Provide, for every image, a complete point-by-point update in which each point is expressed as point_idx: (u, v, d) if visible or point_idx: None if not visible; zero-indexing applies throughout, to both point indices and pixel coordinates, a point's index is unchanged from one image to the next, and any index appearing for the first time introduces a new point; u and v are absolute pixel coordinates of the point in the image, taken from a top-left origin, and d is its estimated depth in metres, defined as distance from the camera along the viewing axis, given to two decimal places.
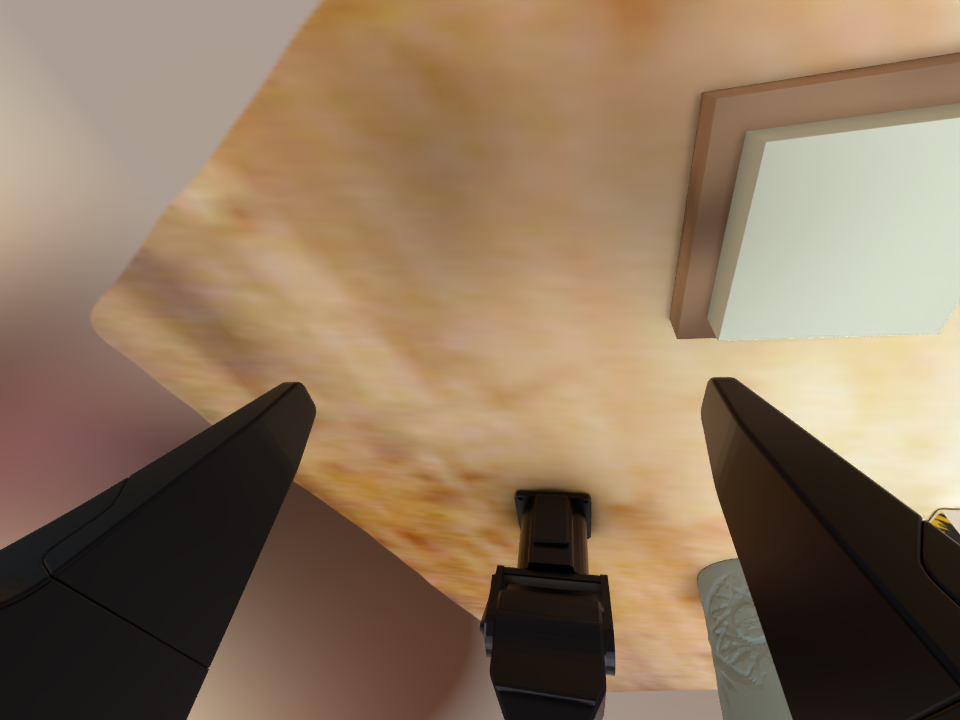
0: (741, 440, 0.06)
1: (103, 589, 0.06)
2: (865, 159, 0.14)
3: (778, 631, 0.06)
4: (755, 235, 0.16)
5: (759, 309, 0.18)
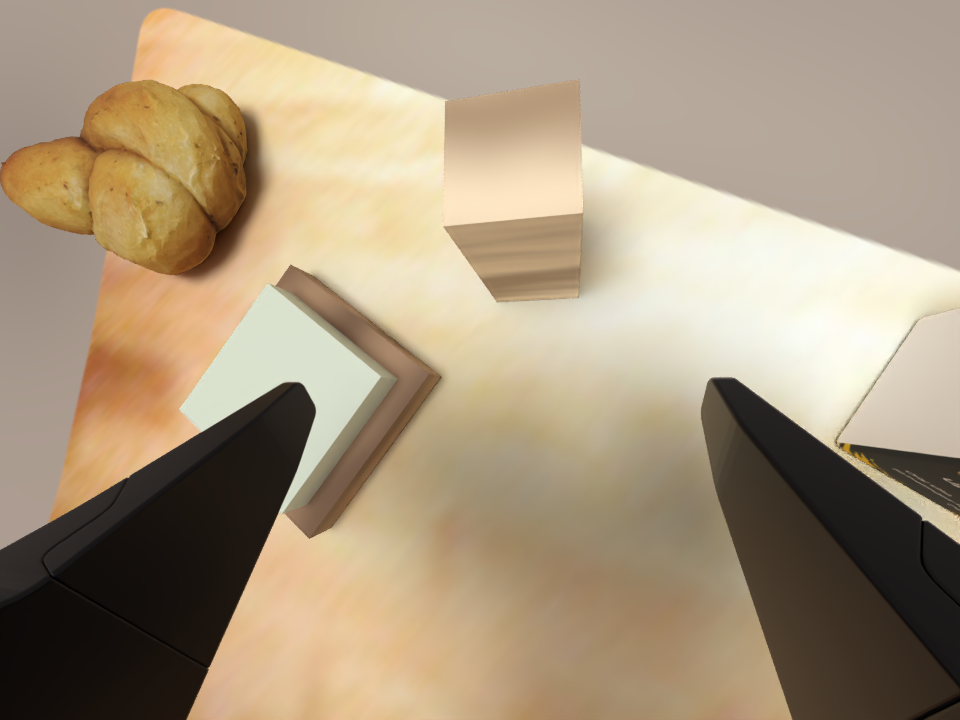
0: (741, 440, 0.06)
1: (103, 589, 0.06)
2: (224, 372, 0.22)
3: (778, 631, 0.06)
4: None
5: None
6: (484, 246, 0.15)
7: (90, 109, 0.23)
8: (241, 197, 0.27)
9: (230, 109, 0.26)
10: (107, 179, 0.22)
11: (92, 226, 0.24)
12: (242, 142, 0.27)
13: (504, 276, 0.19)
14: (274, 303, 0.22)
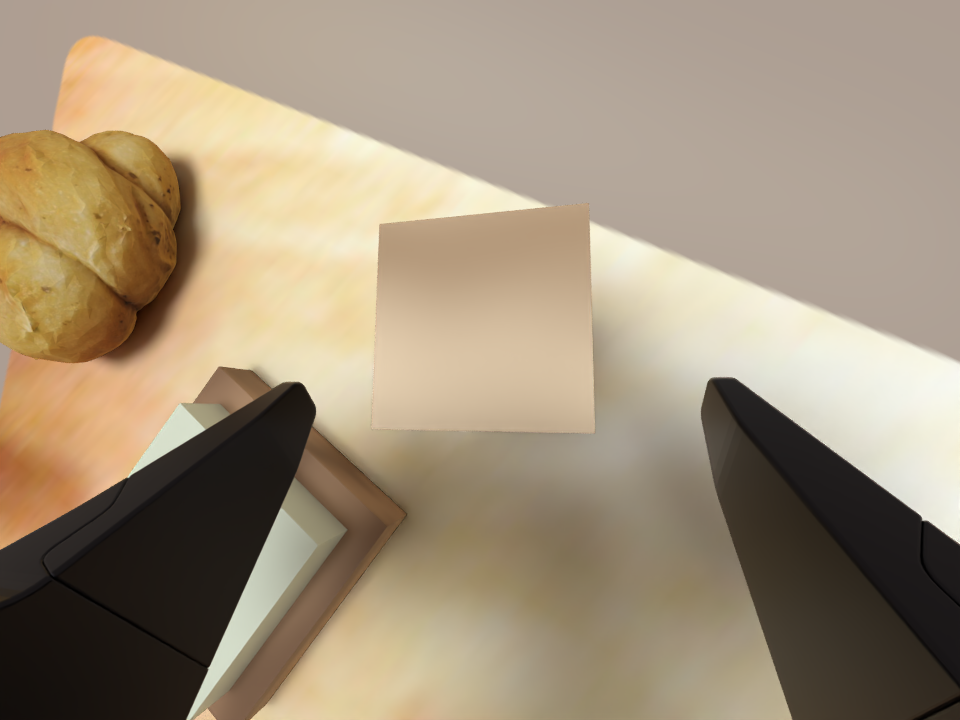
0: (741, 440, 0.06)
1: (103, 589, 0.06)
2: None
3: (778, 631, 0.06)
4: None
5: None
6: None
7: None
8: (167, 268, 0.22)
9: (154, 162, 0.21)
10: None
11: None
12: (170, 201, 0.22)
13: None
14: (187, 431, 0.17)
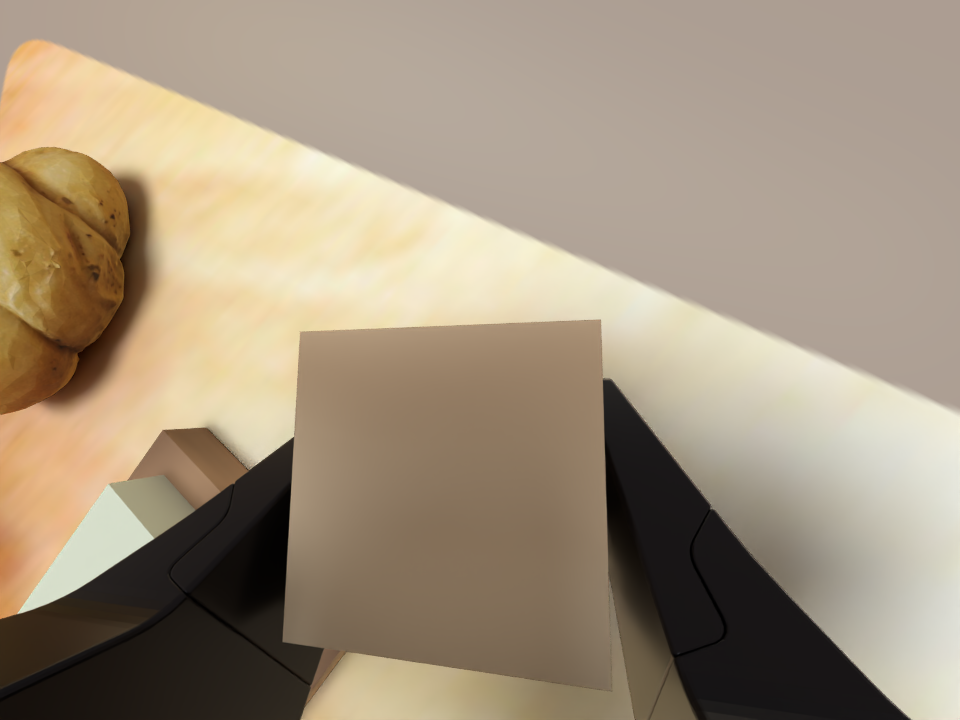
0: None
1: (228, 606, 0.05)
2: None
3: (620, 614, 0.06)
4: None
5: None
6: None
7: None
8: (111, 305, 0.19)
9: (94, 184, 0.18)
10: None
11: None
12: (115, 228, 0.19)
13: None
14: (116, 518, 0.14)
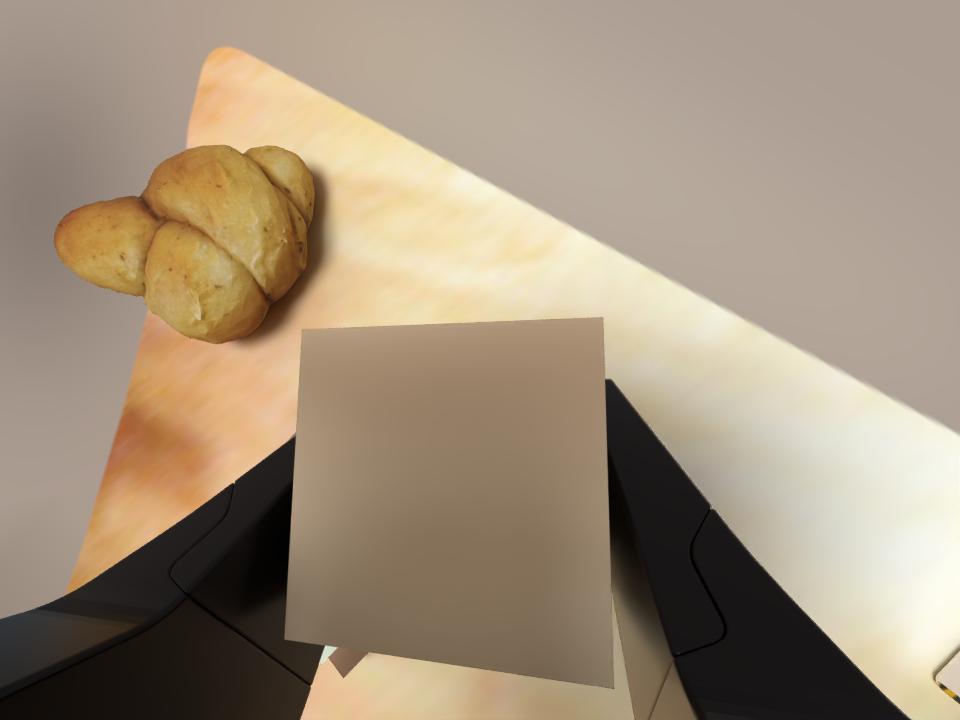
0: None
1: (228, 607, 0.05)
2: None
3: (620, 614, 0.06)
4: None
5: None
6: None
7: (158, 176, 0.21)
8: (300, 271, 0.25)
9: (303, 178, 0.24)
10: (167, 258, 0.21)
11: (144, 295, 0.22)
12: (310, 212, 0.25)
13: None
14: None
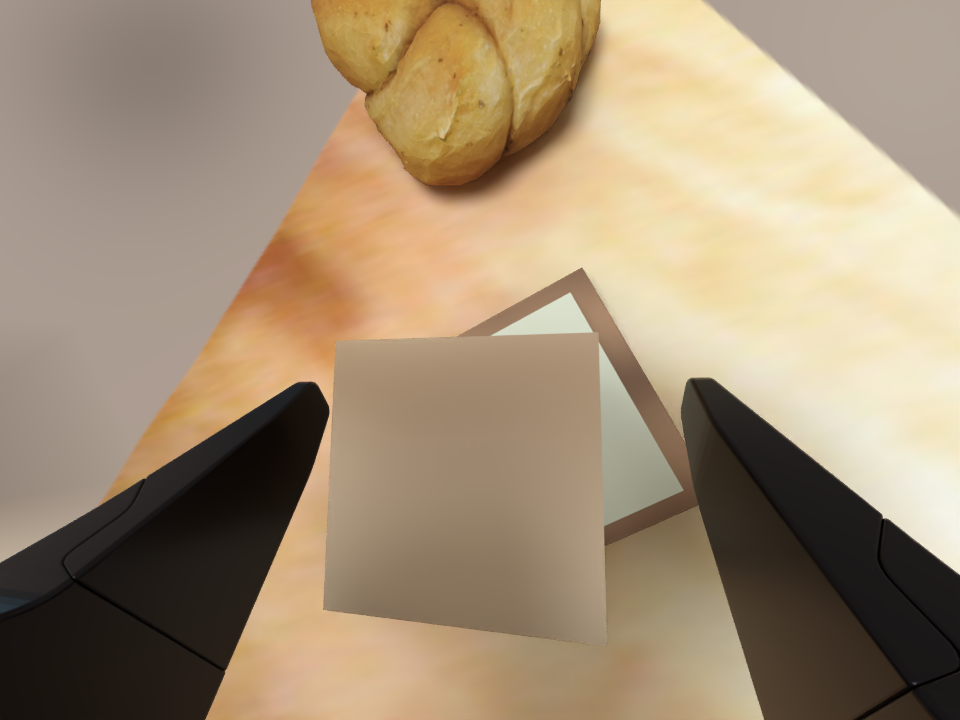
0: (715, 439, 0.06)
1: (123, 592, 0.06)
2: None
3: (749, 628, 0.06)
4: None
5: None
6: None
7: None
8: (546, 131, 0.21)
9: (597, 15, 0.19)
10: (442, 45, 0.16)
11: (382, 89, 0.18)
12: None
13: None
14: (569, 322, 0.16)
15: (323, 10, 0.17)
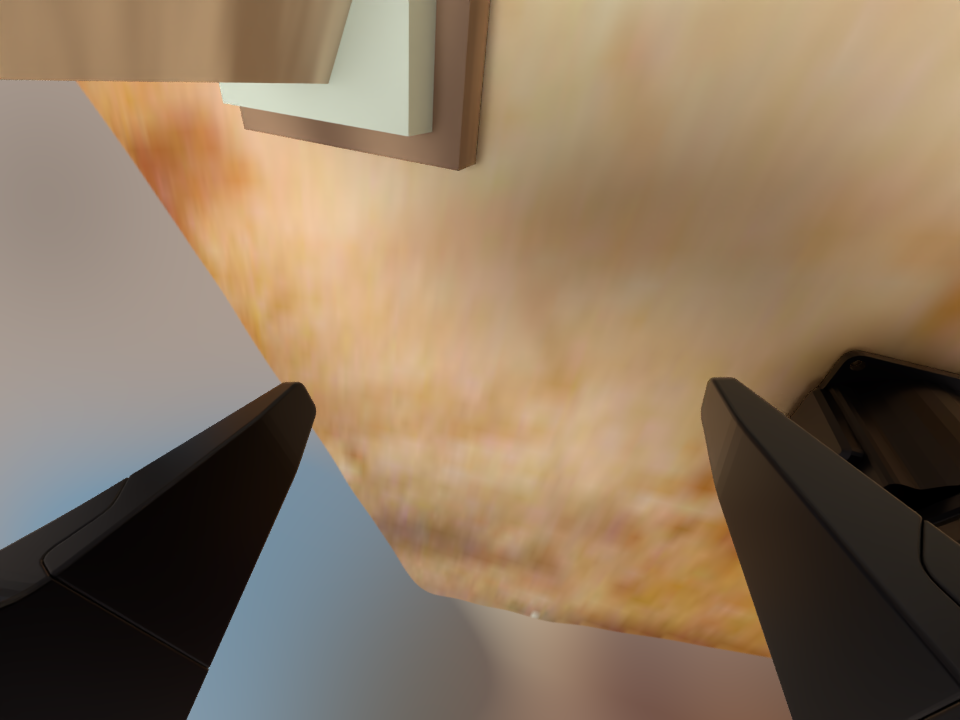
0: (741, 440, 0.06)
1: (103, 589, 0.06)
2: None
3: (778, 631, 0.06)
4: (289, 101, 0.16)
5: (366, 86, 0.14)
6: (80, 28, 0.08)
7: None
8: None
9: None
10: None
11: None
12: None
13: (234, 37, 0.11)
14: None
15: None
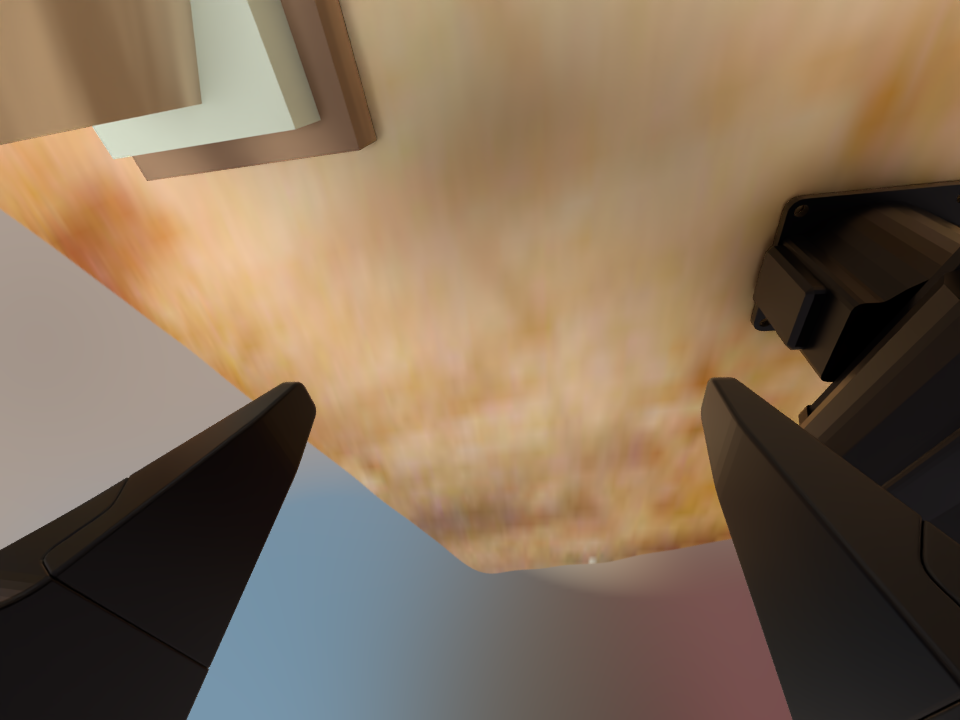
0: (741, 440, 0.06)
1: (103, 589, 0.06)
2: None
3: (778, 631, 0.06)
4: (173, 135, 0.16)
5: (238, 93, 0.14)
6: None
7: None
8: None
9: None
10: None
11: None
12: None
13: (80, 77, 0.11)
14: None
15: None
